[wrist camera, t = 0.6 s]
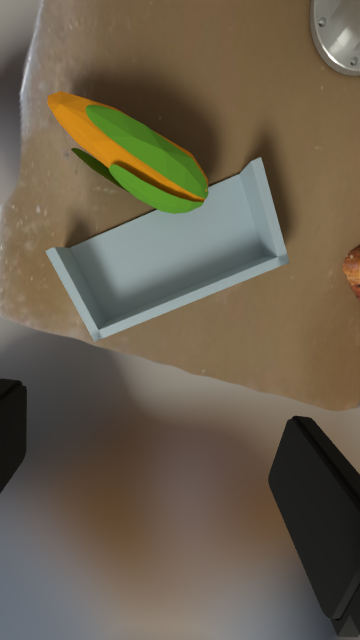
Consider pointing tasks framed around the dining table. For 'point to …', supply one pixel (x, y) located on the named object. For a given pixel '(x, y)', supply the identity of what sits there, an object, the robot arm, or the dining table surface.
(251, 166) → the tray
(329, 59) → the robot arm
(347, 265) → the slice of bread
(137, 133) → the corn
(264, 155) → the dining table surface
